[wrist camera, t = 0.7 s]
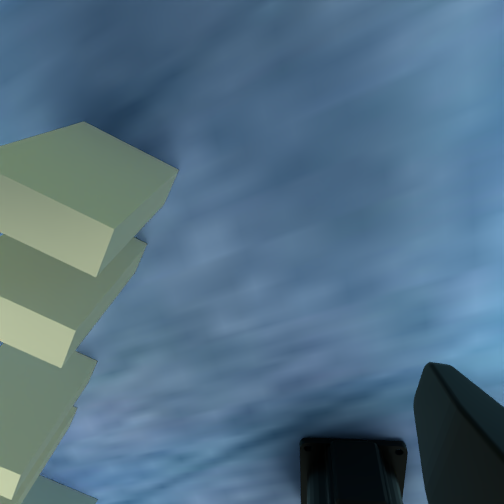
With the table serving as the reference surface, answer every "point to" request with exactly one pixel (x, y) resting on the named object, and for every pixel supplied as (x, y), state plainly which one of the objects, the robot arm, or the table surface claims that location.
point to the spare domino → (55, 494)
